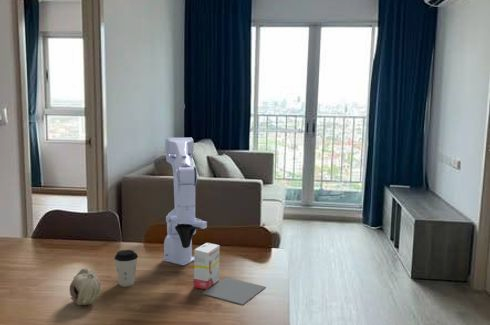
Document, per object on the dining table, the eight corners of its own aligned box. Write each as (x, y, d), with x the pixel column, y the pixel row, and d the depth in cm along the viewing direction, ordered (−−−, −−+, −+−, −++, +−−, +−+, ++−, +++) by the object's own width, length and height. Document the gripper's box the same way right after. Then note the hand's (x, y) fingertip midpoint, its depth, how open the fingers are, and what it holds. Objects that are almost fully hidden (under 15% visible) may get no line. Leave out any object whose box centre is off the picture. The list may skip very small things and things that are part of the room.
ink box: (207, 290, 138) (207, 252, 136) (193, 287, 140) (193, 250, 138) (220, 280, 146) (220, 244, 144) (206, 277, 148) (206, 242, 146)
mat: (201, 293, 135) (201, 292, 135) (226, 278, 147) (226, 277, 147) (242, 305, 128) (243, 304, 128) (265, 287, 140) (265, 286, 140)
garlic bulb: (78, 295, 133) (77, 262, 132) (107, 296, 132) (106, 263, 131) (62, 310, 124) (61, 274, 122) (93, 312, 123) (92, 276, 121)
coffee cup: (142, 280, 144) (142, 250, 142) (130, 289, 137) (129, 257, 136) (123, 277, 146) (122, 247, 145) (110, 286, 140) (109, 254, 138)
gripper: (159, 204, 143) (160, 246, 145) (197, 210, 136) (197, 254, 138) (173, 200, 149) (173, 240, 151) (210, 206, 142) (210, 248, 144)
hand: (186, 247), depth 145 cm, fingers closed
